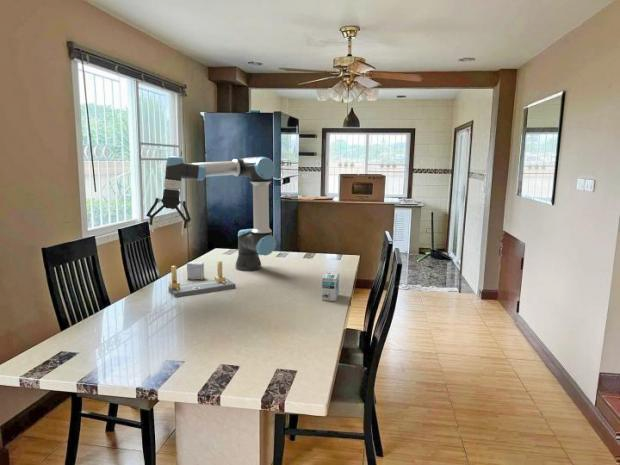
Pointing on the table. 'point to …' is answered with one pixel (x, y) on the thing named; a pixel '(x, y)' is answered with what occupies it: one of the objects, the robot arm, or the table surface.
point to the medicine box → (195, 270)
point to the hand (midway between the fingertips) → (167, 233)
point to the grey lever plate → (205, 285)
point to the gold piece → (174, 279)
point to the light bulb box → (330, 286)
